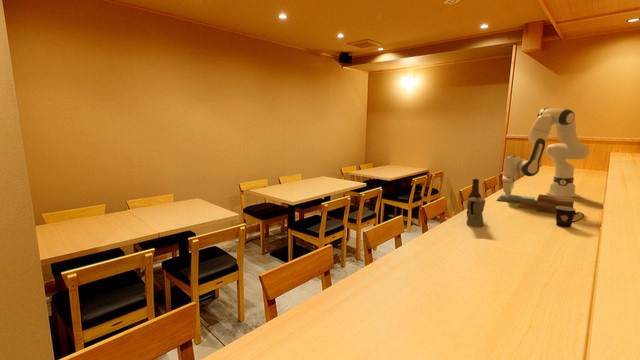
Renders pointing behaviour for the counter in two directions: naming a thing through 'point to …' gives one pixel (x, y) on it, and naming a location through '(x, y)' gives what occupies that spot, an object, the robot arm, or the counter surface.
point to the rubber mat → (509, 200)
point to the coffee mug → (565, 216)
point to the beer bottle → (474, 192)
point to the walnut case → (547, 203)
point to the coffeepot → (475, 211)
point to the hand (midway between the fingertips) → (508, 196)
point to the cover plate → (518, 198)
